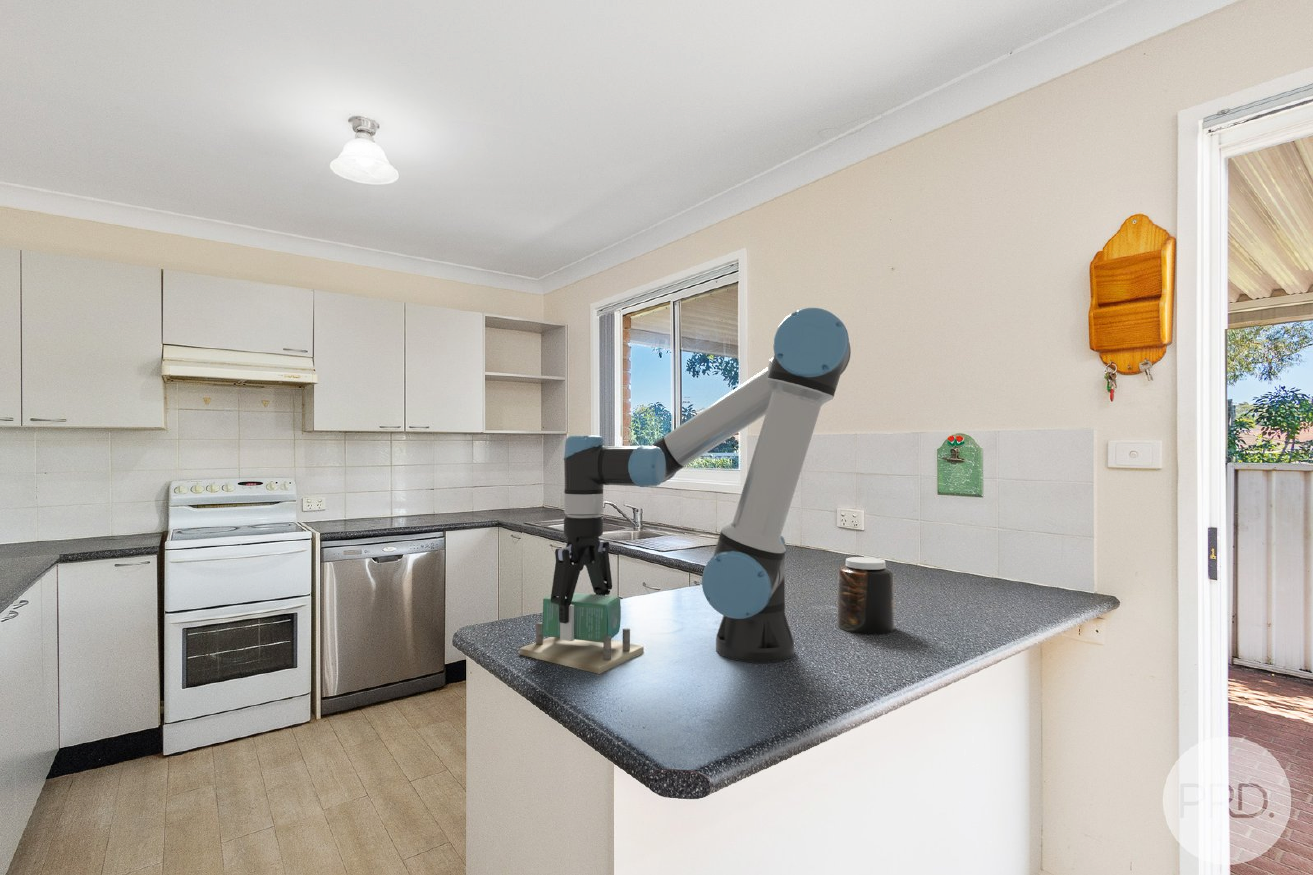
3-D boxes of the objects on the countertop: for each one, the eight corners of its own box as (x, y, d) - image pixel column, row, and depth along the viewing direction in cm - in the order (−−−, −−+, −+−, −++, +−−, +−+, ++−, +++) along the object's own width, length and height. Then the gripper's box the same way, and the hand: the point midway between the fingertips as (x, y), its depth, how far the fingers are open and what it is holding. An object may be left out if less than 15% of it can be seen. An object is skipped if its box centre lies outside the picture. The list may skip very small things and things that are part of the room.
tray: (643, 652, 123) (643, 625, 123) (599, 674, 111) (599, 644, 111) (567, 636, 133) (568, 611, 133) (519, 654, 121) (520, 627, 121)
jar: (875, 638, 133) (875, 566, 133) (827, 626, 142) (827, 559, 142) (903, 628, 141) (903, 560, 141) (856, 617, 150) (856, 553, 150)
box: (608, 644, 116) (608, 603, 117) (541, 638, 120) (541, 598, 120) (621, 633, 123) (621, 594, 124) (557, 627, 127) (558, 590, 127)
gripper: (601, 510, 133) (600, 618, 133) (530, 519, 115) (529, 644, 115) (630, 512, 129) (630, 624, 129) (562, 521, 111) (560, 651, 111)
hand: (582, 633), depth 122 cm, fingers closed on box, 8 cm apart
